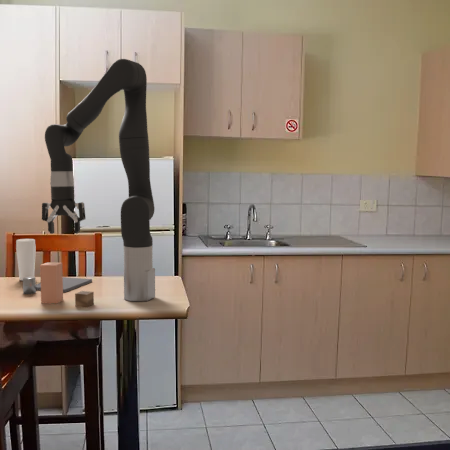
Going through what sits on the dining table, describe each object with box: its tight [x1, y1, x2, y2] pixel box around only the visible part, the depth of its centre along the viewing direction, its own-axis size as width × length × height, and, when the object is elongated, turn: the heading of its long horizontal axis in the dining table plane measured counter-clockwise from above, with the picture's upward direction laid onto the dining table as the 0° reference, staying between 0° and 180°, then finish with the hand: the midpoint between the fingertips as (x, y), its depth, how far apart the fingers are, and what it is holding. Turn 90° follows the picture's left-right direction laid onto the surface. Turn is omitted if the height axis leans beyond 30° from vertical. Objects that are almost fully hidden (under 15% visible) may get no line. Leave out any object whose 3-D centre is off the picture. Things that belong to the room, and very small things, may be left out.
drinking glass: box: [15, 238, 37, 282], centre depth 204 cm, size 7×7×15 cm
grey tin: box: [22, 276, 37, 295], centre depth 183 cm, size 4×4×5 cm
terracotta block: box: [39, 261, 64, 304], centre depth 171 cm, size 5×5×12 cm
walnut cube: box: [74, 290, 95, 308], centre depth 168 cm, size 4×4×4 cm
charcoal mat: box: [36, 276, 93, 293], centre depth 195 cm, size 14×18×1 cm
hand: (64, 233), depth 184 cm, fingers open, 8 cm apart
